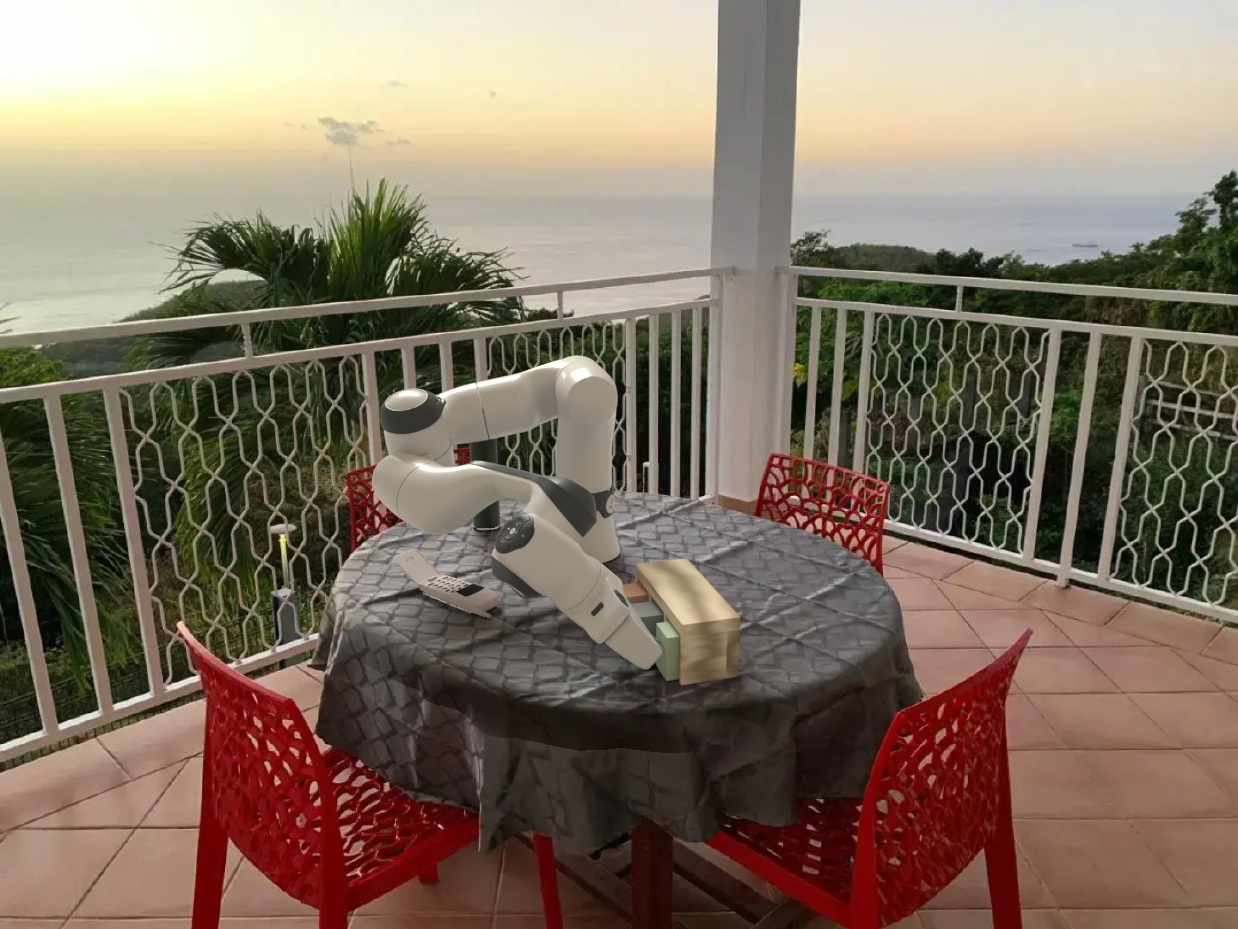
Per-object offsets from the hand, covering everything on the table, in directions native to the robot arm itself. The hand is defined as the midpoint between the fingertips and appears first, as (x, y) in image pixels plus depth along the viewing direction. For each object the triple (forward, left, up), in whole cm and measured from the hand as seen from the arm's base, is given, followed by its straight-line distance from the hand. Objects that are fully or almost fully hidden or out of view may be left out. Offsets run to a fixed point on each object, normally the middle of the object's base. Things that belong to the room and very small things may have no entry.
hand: (657, 649), depth 135 cm
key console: (0, +10, -4) cm, 11 cm away
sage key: (+4, +3, -4) cm, 6 cm away
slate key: (-3, +7, -4) cm, 9 cm away
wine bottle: (-58, +43, -5) cm, 72 cm away
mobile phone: (-45, +10, -5) cm, 46 cm away
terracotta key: (-8, +13, -4) cm, 16 cm away
